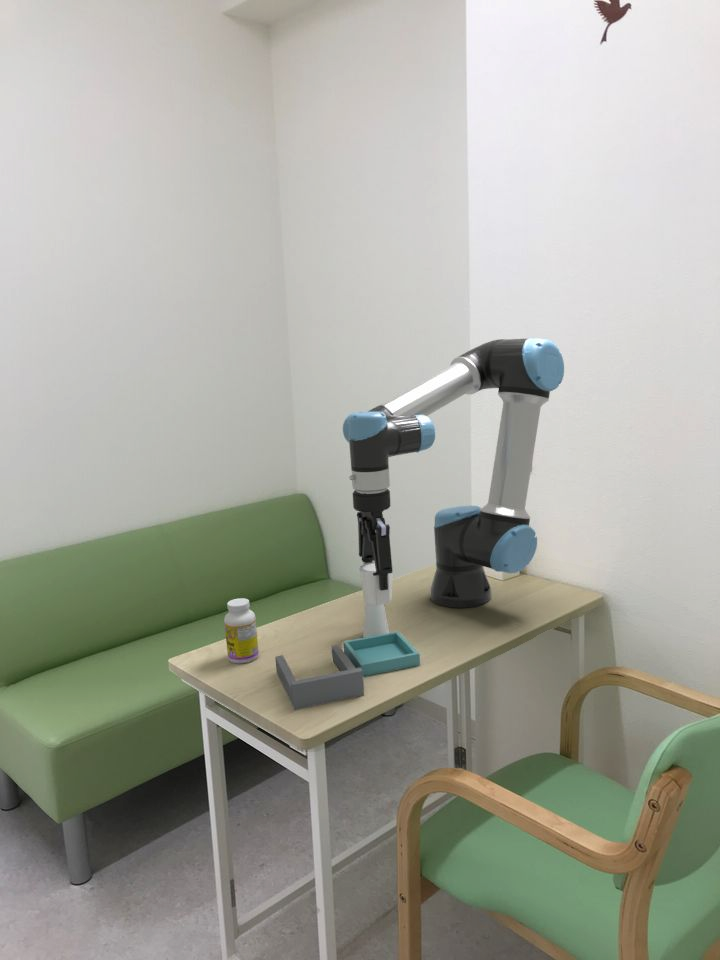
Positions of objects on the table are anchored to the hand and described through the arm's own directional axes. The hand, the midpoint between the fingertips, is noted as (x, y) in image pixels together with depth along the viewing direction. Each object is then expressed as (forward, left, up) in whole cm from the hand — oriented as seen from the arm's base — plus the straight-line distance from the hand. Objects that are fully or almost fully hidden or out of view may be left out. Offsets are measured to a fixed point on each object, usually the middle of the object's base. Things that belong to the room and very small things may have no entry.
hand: (377, 597), depth 158 cm
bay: (+15, +5, -14) cm, 21 cm away
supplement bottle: (+27, -13, -14) cm, 33 cm away
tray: (0, 0, -14) cm, 14 cm away
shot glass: (0, 0, -1) cm, 1 cm away
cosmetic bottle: (-3, -12, -14) cm, 19 cm away
